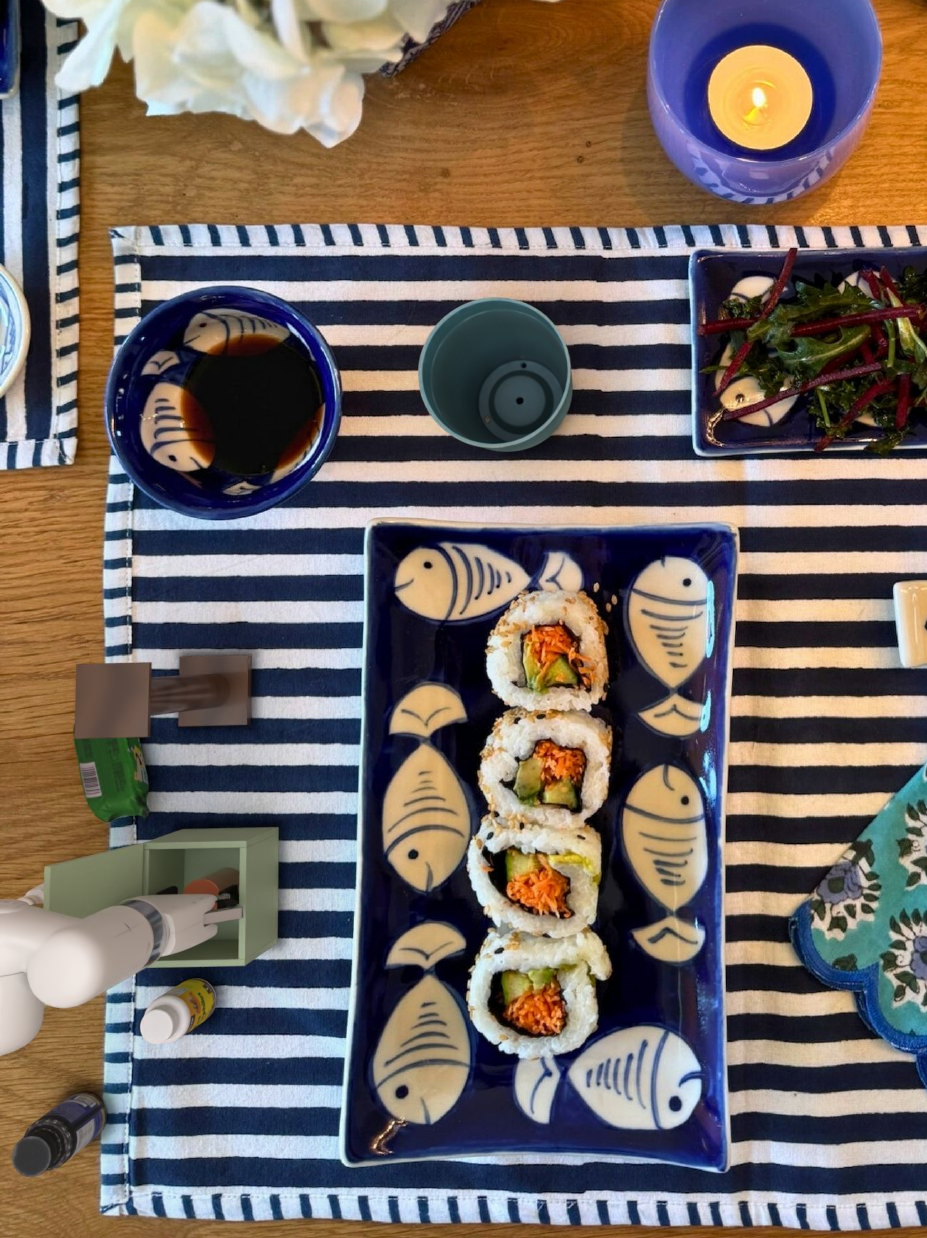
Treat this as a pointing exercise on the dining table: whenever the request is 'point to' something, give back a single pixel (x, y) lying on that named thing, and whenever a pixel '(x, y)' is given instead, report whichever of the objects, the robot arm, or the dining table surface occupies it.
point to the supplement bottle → (178, 1011)
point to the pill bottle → (59, 1134)
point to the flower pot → (496, 374)
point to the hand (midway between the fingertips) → (204, 898)
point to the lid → (93, 882)
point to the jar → (214, 882)
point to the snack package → (113, 776)
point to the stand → (161, 695)
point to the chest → (204, 853)
